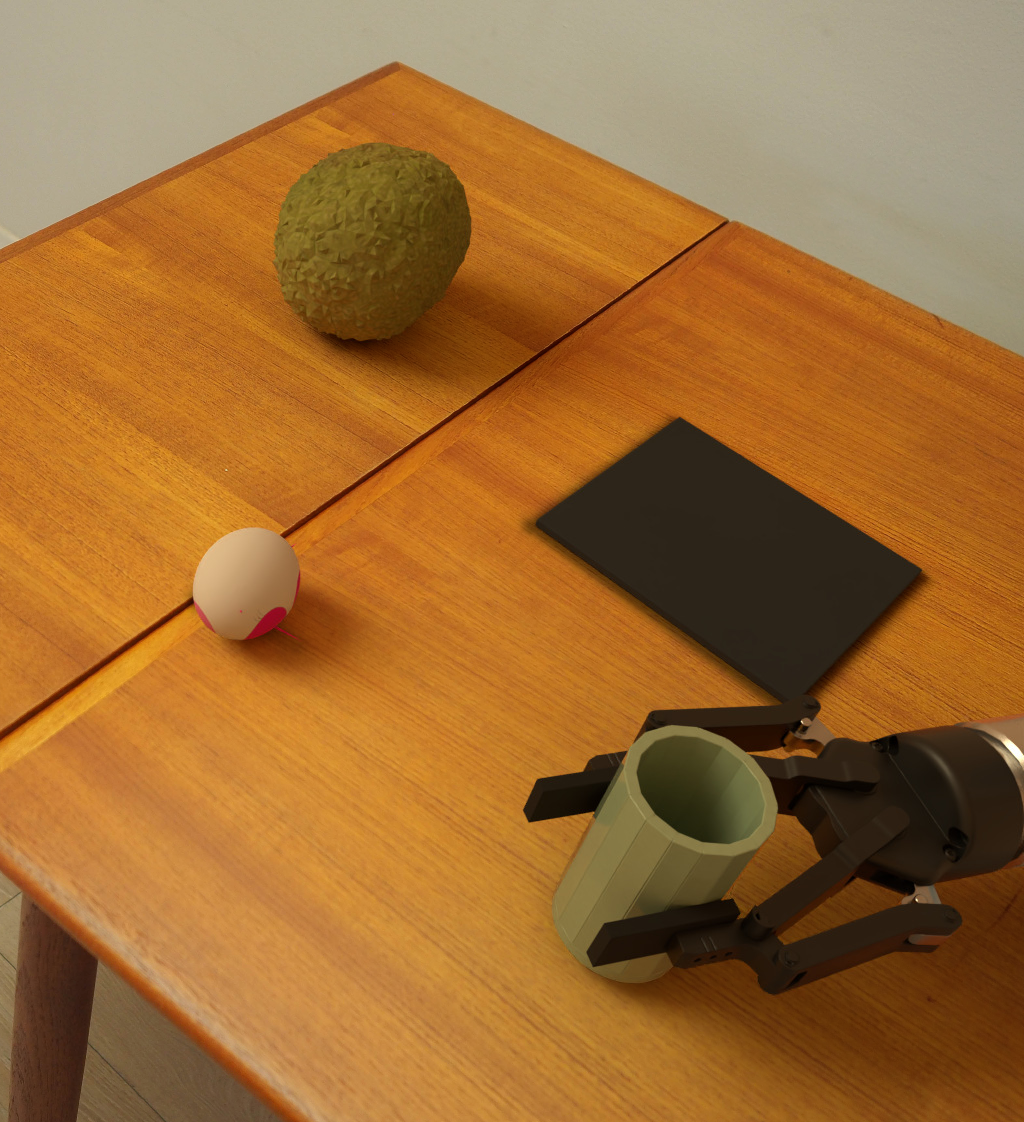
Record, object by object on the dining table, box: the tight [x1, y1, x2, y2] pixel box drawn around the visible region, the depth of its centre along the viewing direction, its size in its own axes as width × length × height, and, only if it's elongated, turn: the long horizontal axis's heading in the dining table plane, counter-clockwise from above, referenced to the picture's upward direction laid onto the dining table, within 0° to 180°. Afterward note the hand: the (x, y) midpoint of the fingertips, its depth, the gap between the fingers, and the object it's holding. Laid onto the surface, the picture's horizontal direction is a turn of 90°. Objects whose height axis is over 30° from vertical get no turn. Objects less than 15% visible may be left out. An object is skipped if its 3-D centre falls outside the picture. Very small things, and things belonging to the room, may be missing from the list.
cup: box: [551, 725, 778, 984], centre depth 60 cm, size 7×7×12 cm
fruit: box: [271, 142, 473, 342], centre depth 96 cm, size 16×14×15 cm
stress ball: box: [192, 526, 302, 642], centre depth 76 cm, size 8×8×7 cm
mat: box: [534, 416, 923, 704], centre depth 87 cm, size 20×18×1 cm
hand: (564, 870), depth 59 cm, fingers closed on cup, 7 cm apart
